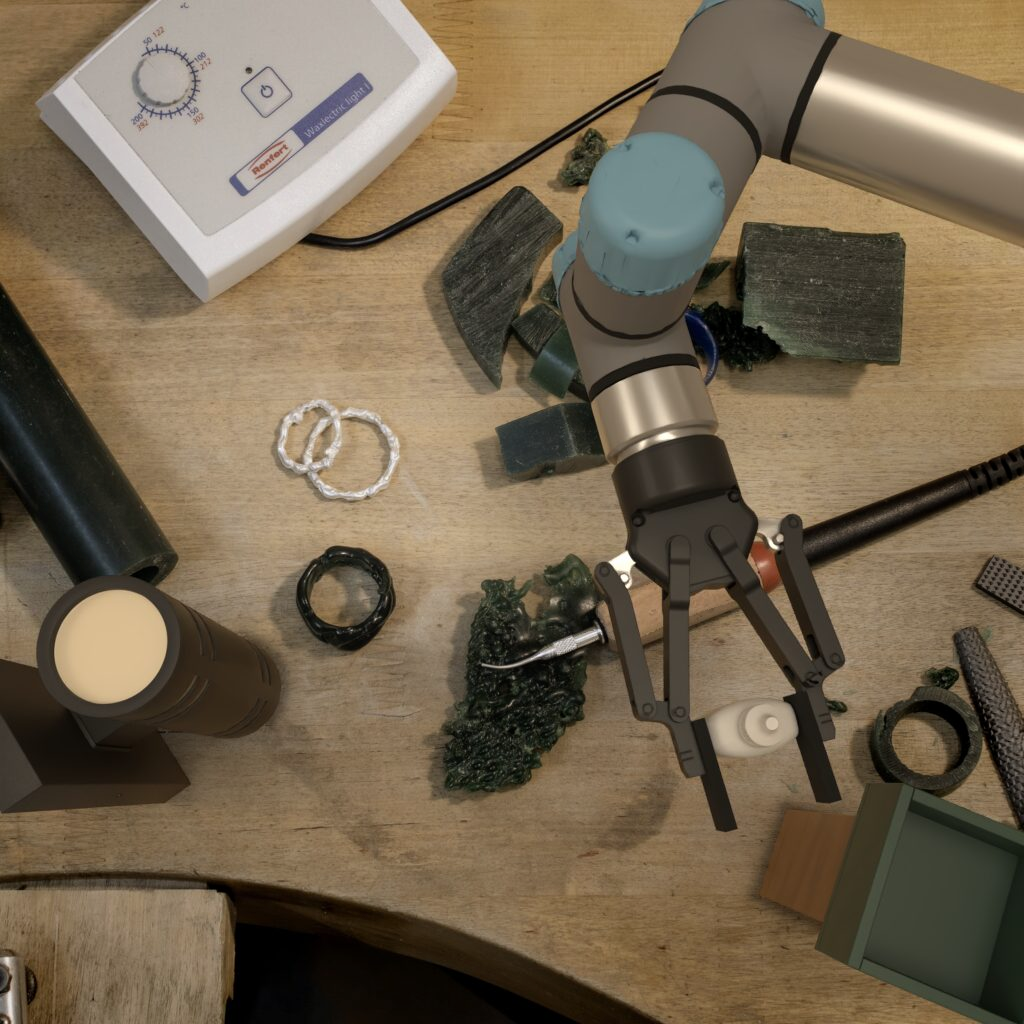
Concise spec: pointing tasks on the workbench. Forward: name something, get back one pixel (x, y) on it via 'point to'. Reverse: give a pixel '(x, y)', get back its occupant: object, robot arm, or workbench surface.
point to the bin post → (807, 860)
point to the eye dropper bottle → (750, 728)
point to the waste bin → (932, 903)
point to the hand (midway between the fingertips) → (777, 814)
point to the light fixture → (122, 697)
